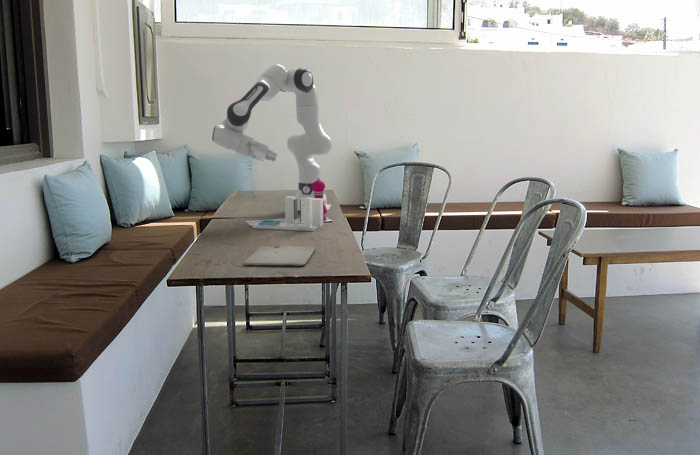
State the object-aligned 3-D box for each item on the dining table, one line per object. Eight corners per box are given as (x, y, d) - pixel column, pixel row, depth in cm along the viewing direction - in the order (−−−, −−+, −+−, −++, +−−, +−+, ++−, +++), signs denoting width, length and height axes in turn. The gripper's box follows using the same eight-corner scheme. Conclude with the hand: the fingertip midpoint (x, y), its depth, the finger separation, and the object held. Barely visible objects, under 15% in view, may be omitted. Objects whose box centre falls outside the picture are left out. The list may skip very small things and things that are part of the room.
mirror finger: (313, 224, 278) (313, 198, 276) (323, 225, 277) (323, 198, 275) (310, 226, 274) (310, 199, 272) (320, 226, 273) (320, 199, 271)
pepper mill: (327, 218, 293) (327, 176, 289) (325, 221, 286) (325, 178, 282) (312, 218, 294) (311, 176, 290) (310, 221, 287) (309, 178, 283)
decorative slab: (259, 250, 231) (258, 244, 230) (316, 250, 230) (316, 245, 229) (243, 268, 204) (242, 262, 204) (307, 268, 203) (307, 262, 203)
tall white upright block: (288, 222, 285) (288, 196, 283) (298, 222, 284) (297, 196, 282) (285, 223, 282) (284, 197, 279) (295, 224, 280) (294, 197, 278)
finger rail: (259, 224, 279) (258, 194, 276) (319, 227, 271) (318, 196, 269) (252, 228, 271) (251, 197, 269) (313, 231, 264) (312, 199, 261)
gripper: (250, 134, 269) (280, 146, 271) (248, 144, 289) (276, 155, 291) (244, 148, 268) (275, 160, 270) (243, 156, 288) (272, 168, 290)
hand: (276, 158), depth 281 cm, fingers open, 8 cm apart
